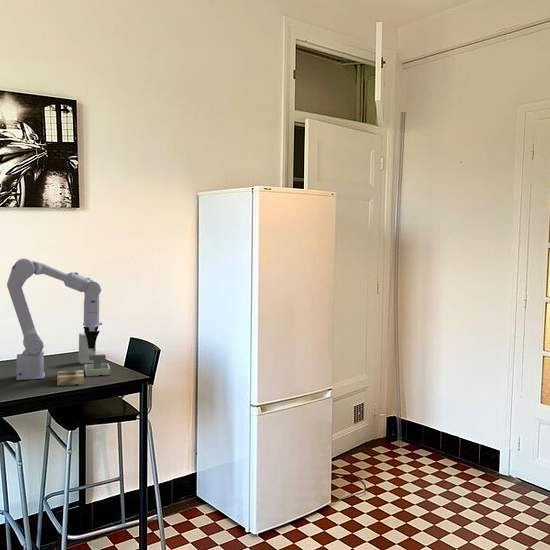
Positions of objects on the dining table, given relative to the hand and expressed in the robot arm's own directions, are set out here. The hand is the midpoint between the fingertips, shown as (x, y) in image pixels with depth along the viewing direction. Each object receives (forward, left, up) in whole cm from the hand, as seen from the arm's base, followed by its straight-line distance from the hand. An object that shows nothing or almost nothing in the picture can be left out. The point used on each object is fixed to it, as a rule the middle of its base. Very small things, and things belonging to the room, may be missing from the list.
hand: (91, 346), depth 228 cm
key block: (-8, -13, -10) cm, 18 cm away
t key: (+2, -2, -10) cm, 10 cm away
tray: (+2, -2, -10) cm, 11 cm away
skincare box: (-1, +17, -10) cm, 20 cm away
